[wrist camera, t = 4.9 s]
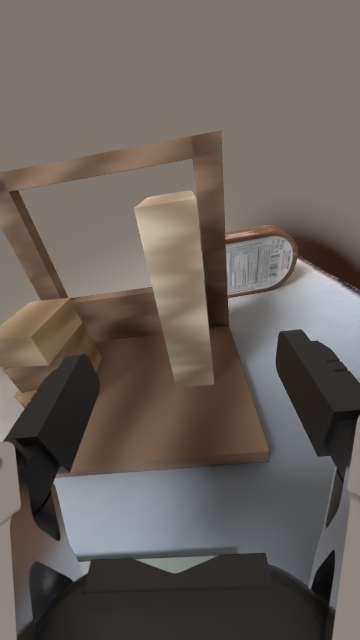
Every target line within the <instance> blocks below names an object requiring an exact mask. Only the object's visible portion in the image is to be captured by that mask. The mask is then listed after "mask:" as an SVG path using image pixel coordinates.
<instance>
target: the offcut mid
mask: <svg viewBox="0 0 360 640" xmlns="http://www.w3.org/2000/svg"><path fill="white" fill-rule="evenodd" d="M79 317H80V319H81V322H82V323H81V325H80V326H79V327H78V329H77V330H76V331H75V332H74V334H73V335H72V336H71V338H70V339H69V340H68V341H67V343H66V344H65V345H64V347H63V348H62V349H61V350H60V352H59V353H58V354H57V356H56V357H55V358H54V359H53V361H52V362H51V363H50V365H47V366H28V367H9V368H4V371H5V373H6V374H7V375H8V376H9V378H10V379H11V380H12V381H13V383H14V384H15V385H16V386H17V388H18V389H19V390H20V391H21V393H24V392H29V391H34V390H37V389H38V388H39V386H40V385H41V383H42V381H43V380H44V379H45V378H46V377H47V376H48V375H49V374H50V373H51V372H52V371H53V370H55V369H57V368H58V367H59V365H60V364H61V362H62V360H63V359H64V357H66V356H69V355H78V354H85V353H86V350H87V346H88V343H89V340H90V335H89V333H88V331H87V328H86V326H85V324H84V322H83V320H82V317H81V316H79Z"/></svg>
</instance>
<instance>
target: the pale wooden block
mask: <svg viewBox="0 0 360 640" xmlns="http://www.w3.org/2000/svg"><path fill="white" fill-rule="evenodd" d="M134 211H135V215H136V219H137V224H138V228H139V232H140V236H141V241H142V245H143V249H144V253H145V258H146V262H147V266H148V270H149V274H150V278H151V283H152V287H153V291H154V296H155V300H156V304H157V308H158V313H159V317H160V321H161V325H162V330H163V334H164V338H165V342H166V347H167V351H168V355H169V359H170V364H171V368H172V372H173V376H174V381H175V385H176V388H185V387H195V386H204V385H214V376H213V366H212V356H211V345H210V335H209V325H208V315H207V305H206V294H205V284H204V274H203V264H202V254H201V244H200V233H199V223H198V213H197V203H196V197H195V196H194V194H193V193H192V191H191V190H188V191H183V192H177V193H172V194H165V195H159V196H153V197H148V198H146V199H145V200H144V201H143V202H141V203H140V204H139V205H138V206H136V207H135V208H134Z"/></svg>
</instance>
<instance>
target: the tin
mask: <svg viewBox="0 0 360 640" xmlns="http://www.w3.org/2000/svg"><path fill="white" fill-rule="evenodd" d="M225 240H226V266H227V291H228V298H229V297H234V296H240V295H246V294H252V293H259V292H265V291H269V290H272V289H274V288H276V287H278V286H279V285H281V284H282V283H283V282H284V281H286V280H287V278H288V277H289V276H290V275H291V273H292V272H293V270H294V267H295V264H296V261H297V255H298V249H297V245H296V243H295V241H294V240H293V239H292V238H291V236H289V235H288V234H287V233H285V232H284V231H283V230H282V229H280V228H278V227H275V226H270V225H266V226H259V227H253V228H248V229H241V230H235V231H229V232H225ZM200 244H201V239H200ZM201 254H202V249H201ZM202 264H203V259H202ZM203 274H204V270H203Z"/></svg>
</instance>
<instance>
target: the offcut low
mask: <svg viewBox="0 0 360 640" xmlns="http://www.w3.org/2000/svg"><path fill="white" fill-rule="evenodd" d="M85 354H86V355H87V356H88V357H89V359H90V361H91V363H92V365H93V368H94V370H95V372H96V371H97V369H98V366H99V364H100V362H101V359H102V357H101V354H100V352H99V350H98V348H97V346H96V343H95V341H94V339H90V340H89V343H88V346H87V350H86V353H85ZM36 392H37V390H34V391H29V392H24V393H21V391H20V390H19V391H18V392H17V394H16V395H15V397H16V399H17V400H18V401H19V402H20V403H21V405H22V406H23V407H24V408H25V407H26V406H27V404H28V403H29V402H31V398H32V397H33V395H34V394H35V393H36Z"/></svg>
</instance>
